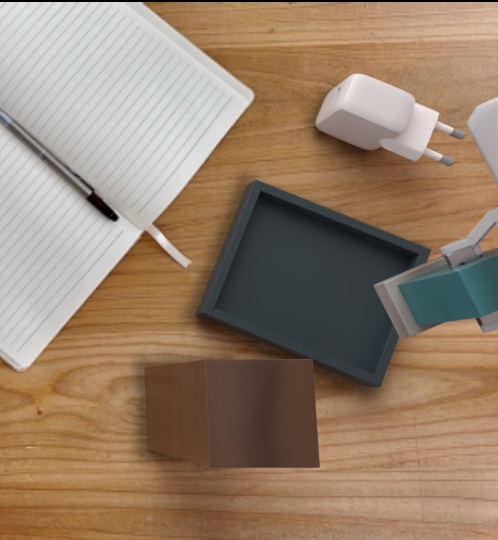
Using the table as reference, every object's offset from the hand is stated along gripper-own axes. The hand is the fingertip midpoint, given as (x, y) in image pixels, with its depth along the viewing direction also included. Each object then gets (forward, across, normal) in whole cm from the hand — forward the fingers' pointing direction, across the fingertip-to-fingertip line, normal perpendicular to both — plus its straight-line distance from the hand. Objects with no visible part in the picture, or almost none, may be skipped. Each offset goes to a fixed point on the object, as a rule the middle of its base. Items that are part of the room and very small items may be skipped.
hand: (462, 289), depth 54 cm
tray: (+14, -3, +14) cm, 20 cm away
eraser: (+3, 0, +4) cm, 5 cm away
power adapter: (+6, -13, +22) cm, 26 cm away
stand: (+24, +2, +4) cm, 25 cm away
